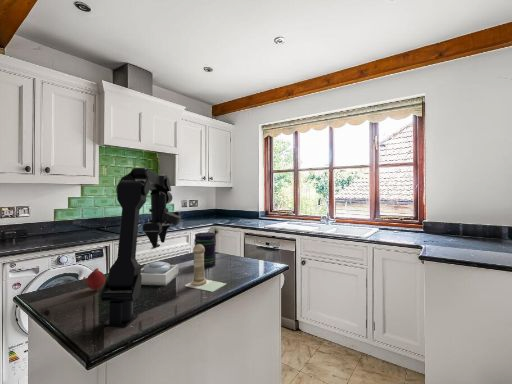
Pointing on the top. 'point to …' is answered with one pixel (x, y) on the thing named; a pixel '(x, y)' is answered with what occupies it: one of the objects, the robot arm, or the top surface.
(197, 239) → the dark blue cylinder
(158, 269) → the dome button
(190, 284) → the game track
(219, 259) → the top surface
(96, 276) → the onion
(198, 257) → the beech pawn
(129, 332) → the top surface
